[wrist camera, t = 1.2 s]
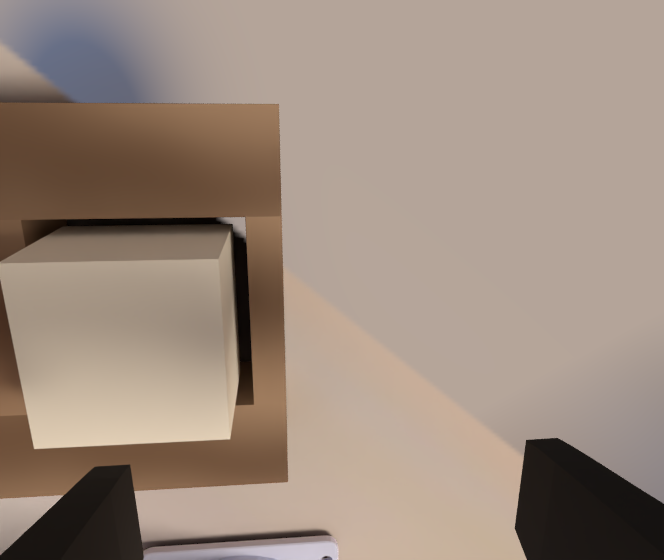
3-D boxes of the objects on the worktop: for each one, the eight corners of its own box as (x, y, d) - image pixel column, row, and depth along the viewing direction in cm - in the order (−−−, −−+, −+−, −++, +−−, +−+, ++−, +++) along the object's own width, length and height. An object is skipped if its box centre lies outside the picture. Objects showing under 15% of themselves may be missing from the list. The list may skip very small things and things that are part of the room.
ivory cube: (240, 370, 18) (230, 439, 14) (86, 376, 17) (34, 448, 14) (232, 223, 16) (218, 258, 13) (62, 226, 16) (-4, 263, 12)
